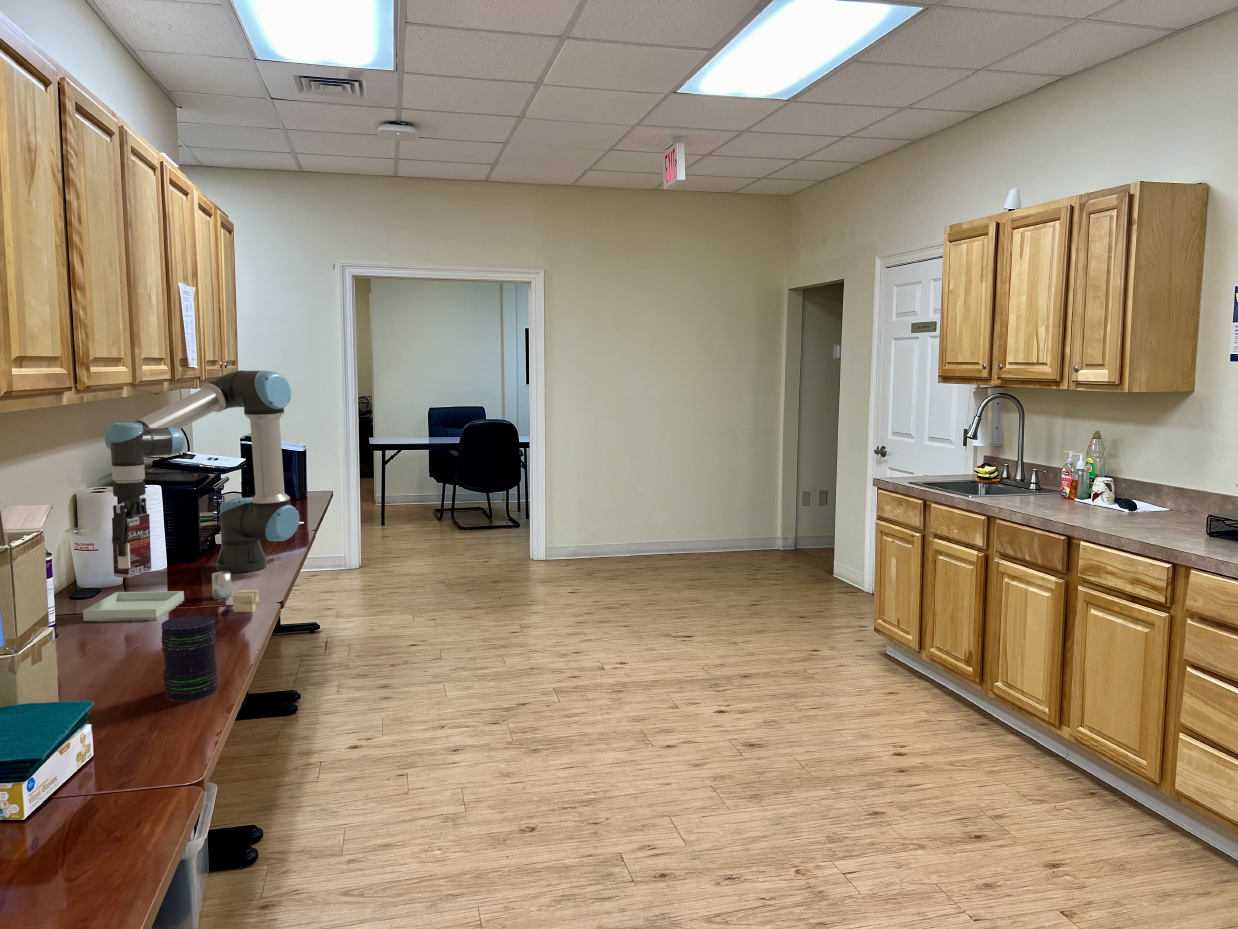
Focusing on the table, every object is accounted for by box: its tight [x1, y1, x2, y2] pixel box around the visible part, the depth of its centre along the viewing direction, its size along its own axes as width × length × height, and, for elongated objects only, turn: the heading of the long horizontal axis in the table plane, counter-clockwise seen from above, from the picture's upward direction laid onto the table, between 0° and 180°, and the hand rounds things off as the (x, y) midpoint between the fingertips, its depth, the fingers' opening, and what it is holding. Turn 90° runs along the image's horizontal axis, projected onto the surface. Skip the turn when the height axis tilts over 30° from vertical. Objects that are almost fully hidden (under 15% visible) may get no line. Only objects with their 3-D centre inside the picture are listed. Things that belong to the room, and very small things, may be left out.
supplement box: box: [111, 513, 152, 579], centre depth 228 cm, size 9×5×16 cm, turn 168°
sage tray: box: [82, 590, 185, 623], centre depth 230 cm, size 18×18×3 cm
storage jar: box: [160, 614, 219, 703], centre depth 173 cm, size 10×10×15 cm
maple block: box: [232, 589, 260, 613], centre depth 232 cm, size 5×5×5 cm
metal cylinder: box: [211, 571, 233, 600], centre depth 245 cm, size 5×5×7 cm
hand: (133, 563), depth 229 cm, fingers closed on supplement box, 9 cm apart
